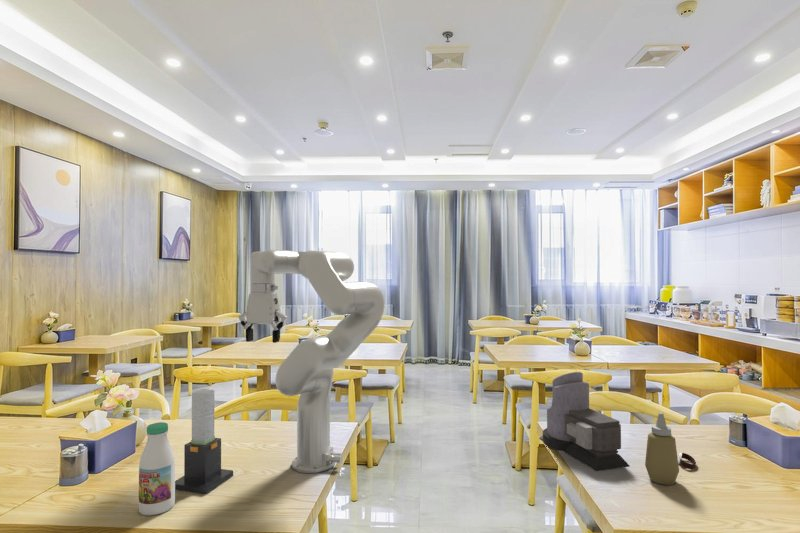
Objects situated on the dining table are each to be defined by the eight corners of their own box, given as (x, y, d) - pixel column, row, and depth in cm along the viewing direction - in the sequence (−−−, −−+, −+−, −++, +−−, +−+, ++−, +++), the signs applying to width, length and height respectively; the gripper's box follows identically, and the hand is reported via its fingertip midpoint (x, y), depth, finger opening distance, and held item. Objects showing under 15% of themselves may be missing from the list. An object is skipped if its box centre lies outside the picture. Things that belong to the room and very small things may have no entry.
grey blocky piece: (531, 436, 156) (530, 365, 157) (570, 431, 161) (570, 362, 161) (590, 472, 127) (589, 385, 128) (636, 465, 132) (635, 381, 132)
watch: (676, 459, 137) (676, 447, 137) (695, 462, 134) (695, 450, 134) (677, 468, 130) (677, 456, 130) (697, 472, 128) (696, 459, 128)
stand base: (233, 475, 126) (233, 436, 126) (206, 494, 116) (206, 451, 116) (199, 471, 129) (199, 432, 129) (170, 489, 118) (171, 447, 119)
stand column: (214, 452, 124) (214, 389, 124) (204, 458, 120) (204, 393, 120) (201, 450, 125) (201, 388, 125) (191, 456, 121) (191, 392, 121)
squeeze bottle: (667, 490, 117) (666, 420, 117) (638, 477, 124) (637, 411, 124) (686, 483, 120) (685, 415, 121) (656, 471, 128) (655, 407, 128)
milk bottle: (147, 500, 113) (148, 420, 113) (180, 499, 113) (180, 419, 113) (132, 517, 105) (132, 430, 105) (166, 515, 105) (167, 429, 106)
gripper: (292, 288, 149) (292, 340, 149) (246, 288, 154) (246, 339, 153) (280, 289, 142) (280, 344, 142) (232, 289, 146) (232, 342, 146)
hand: (262, 341), depth 147 cm, fingers open, 9 cm apart
